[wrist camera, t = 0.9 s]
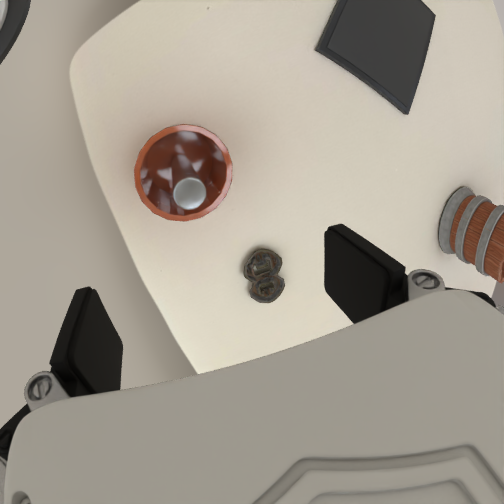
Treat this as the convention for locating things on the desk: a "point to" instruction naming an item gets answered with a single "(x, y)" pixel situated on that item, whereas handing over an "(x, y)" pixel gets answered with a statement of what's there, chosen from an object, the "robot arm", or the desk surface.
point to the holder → (202, 159)
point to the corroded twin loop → (264, 276)
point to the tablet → (381, 44)
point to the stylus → (186, 184)
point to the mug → (474, 232)
